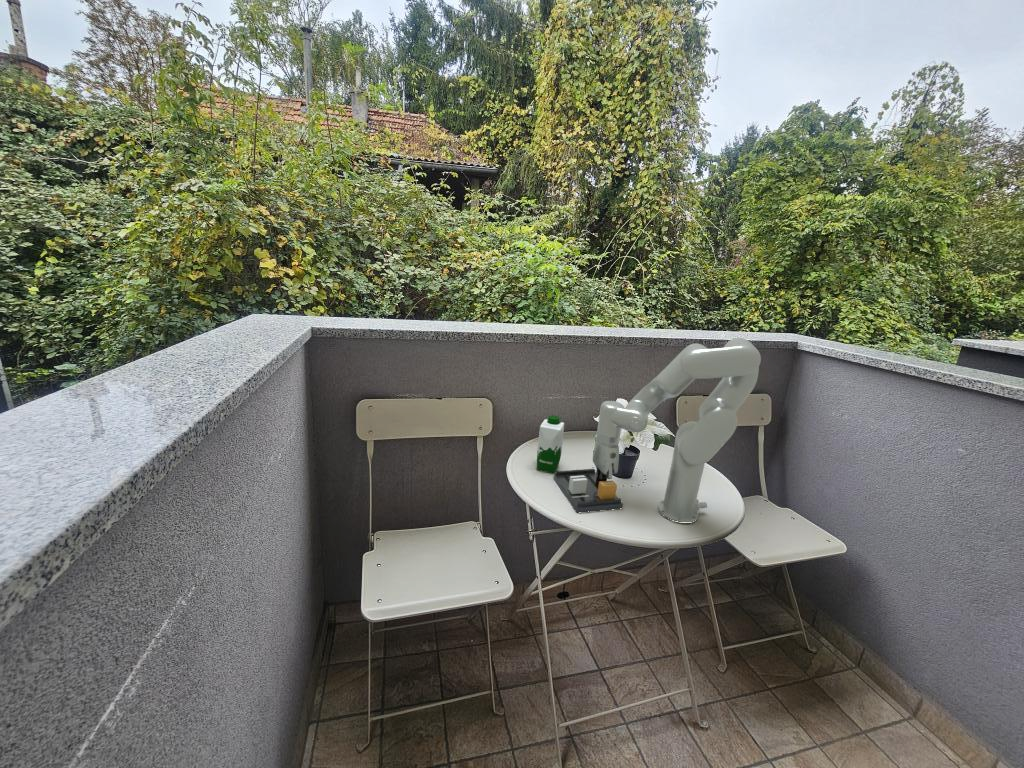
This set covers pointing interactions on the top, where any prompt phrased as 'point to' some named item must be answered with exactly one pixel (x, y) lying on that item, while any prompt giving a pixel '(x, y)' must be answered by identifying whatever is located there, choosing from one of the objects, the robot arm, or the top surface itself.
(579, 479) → the block
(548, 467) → the milk carton
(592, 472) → the panel
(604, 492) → the block
